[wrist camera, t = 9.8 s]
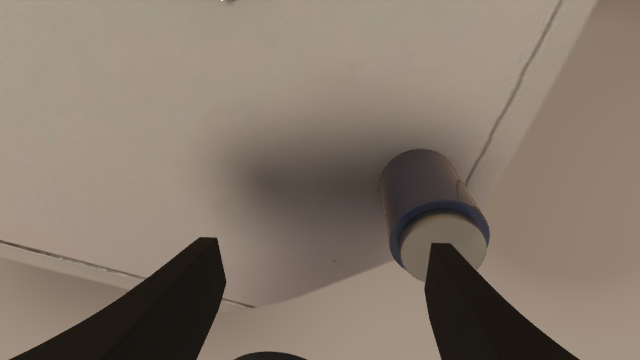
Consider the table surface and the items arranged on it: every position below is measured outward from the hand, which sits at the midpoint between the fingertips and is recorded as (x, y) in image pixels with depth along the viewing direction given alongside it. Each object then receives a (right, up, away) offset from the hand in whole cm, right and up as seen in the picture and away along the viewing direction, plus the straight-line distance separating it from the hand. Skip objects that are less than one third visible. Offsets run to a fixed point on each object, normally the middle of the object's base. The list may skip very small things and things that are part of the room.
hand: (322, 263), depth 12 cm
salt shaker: (+6, +3, +9) cm, 11 cm away
